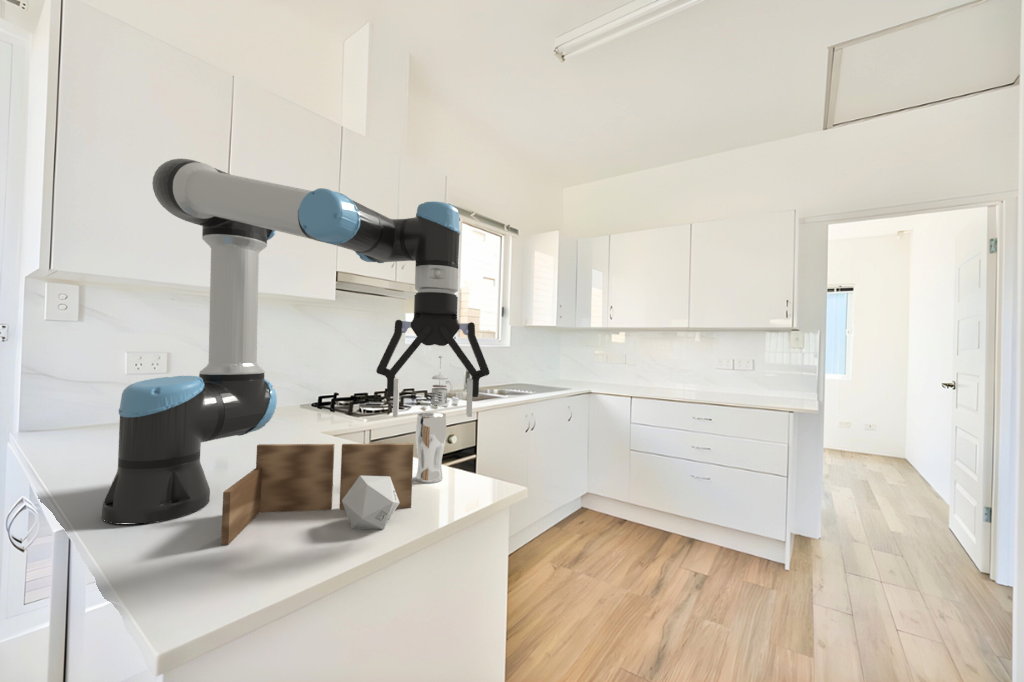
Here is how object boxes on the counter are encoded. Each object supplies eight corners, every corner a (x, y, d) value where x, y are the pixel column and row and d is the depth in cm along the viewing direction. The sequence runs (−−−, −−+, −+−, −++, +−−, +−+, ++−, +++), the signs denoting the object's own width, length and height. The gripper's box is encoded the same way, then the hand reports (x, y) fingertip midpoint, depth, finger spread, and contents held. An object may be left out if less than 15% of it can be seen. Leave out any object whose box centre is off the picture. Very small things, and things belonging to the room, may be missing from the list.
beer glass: (430, 486, 98) (432, 417, 98) (407, 479, 101) (410, 414, 102) (450, 478, 104) (453, 414, 104) (428, 473, 107) (430, 411, 107)
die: (365, 546, 70) (405, 490, 73) (322, 512, 71) (363, 459, 75) (379, 542, 78) (414, 492, 81) (340, 512, 79) (376, 464, 82)
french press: (434, 403, 231) (435, 355, 231) (454, 404, 228) (456, 356, 228) (425, 405, 221) (427, 355, 221) (447, 407, 218) (449, 356, 218)
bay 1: (220, 545, 67) (224, 465, 67) (256, 510, 80) (259, 444, 81) (312, 541, 69) (315, 464, 69) (331, 508, 83) (334, 443, 83)
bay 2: (339, 509, 82) (341, 445, 82) (340, 507, 83) (342, 443, 83) (411, 507, 85) (413, 444, 85) (411, 505, 86) (413, 443, 86)
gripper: (361, 286, 72) (357, 419, 72) (507, 294, 77) (504, 418, 76) (367, 292, 80) (364, 412, 79) (500, 298, 84) (497, 412, 84)
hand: (432, 415), depth 78 cm, fingers open, 12 cm apart
